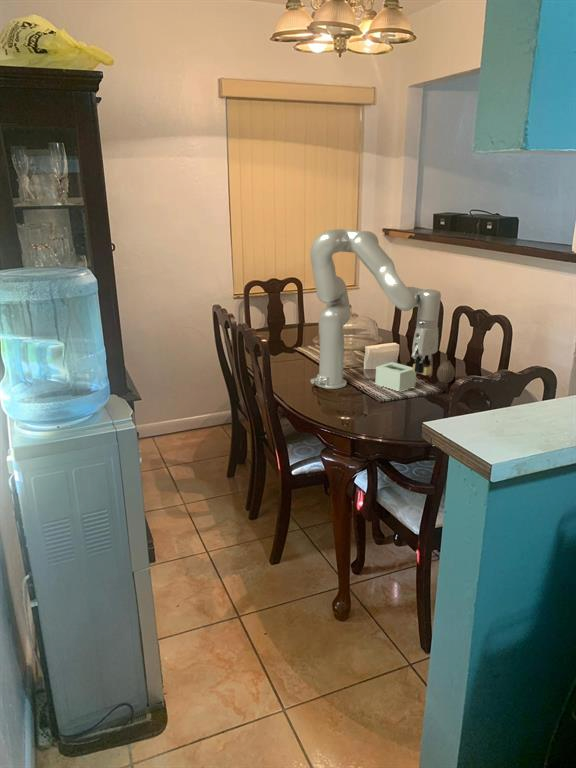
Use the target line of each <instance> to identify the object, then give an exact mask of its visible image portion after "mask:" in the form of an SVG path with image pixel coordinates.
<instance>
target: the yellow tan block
mask: <svg viewBox="0 0 576 768" xmlns="http://www.w3.org/2000/svg"><path fill="white" fill-rule="evenodd" d="M412 367H413V372H415V363H413V364H412ZM432 369H433V366H432V365H431V364H430V365H426V364H423V372H422V373H421V374H420V373H417V372H416V374H418V375H419V374H420V375H423V376H428V375H431V374H432Z"/></svg>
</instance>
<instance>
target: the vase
mask: <svg viewBox="0 0 576 768" xmlns="http://www.w3.org/2000/svg"><path fill="white" fill-rule="evenodd" d="M455 373H456V371H455V367H454V366H453V364H452V363H451V360H448V359H447V360H446V359H445V360H443V362H442V363H441V364H440V365H439V366H438V367H437V372H436V376H437V379H438V380H439V382H441V383H444V384H449V383H451V382H452V381H453V380H454V378H455V375H456V374H455Z"/></svg>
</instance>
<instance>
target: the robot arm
mask: <svg viewBox="0 0 576 768" xmlns="http://www.w3.org/2000/svg"><path fill="white" fill-rule="evenodd" d="M379 243H380V242H379V238H378V236H377V234H375V233H374V232H372V231H368V230H356V229H344V228H342V229H341V228H336V229H329V230H327V231H324V232H322V233H321V234H319V235H318V236H317V237H316V238H315V240H314V241H313V242H312V244H311V247H310V254H309V256H310V262H311V268H312V274H313V281H314V286H315V292H316V296H317V298H318V300H319V301H320V302H321V303H323V304H326V307H325V308H324V309H322V311H321V312H320V314H319V317H318V330H319V366H318V367H319V368H318V369H319V372H318V374H317V375H316V377H315V378H311V379H310V384H315V386H317V387H319V388H322V389H328V390H329V389H331V390H334V389H341V388H344V387H346V386H347V383H348V382H347V380H346V379H344V359H345V358H344V357H345V356H344V353H345V336H344V326H345V325H346V324H347V323H348V322H349V321H350V319H351V315H352V314H351V313H352V312H351V307H350V306H351V304H350V300H349V293H348V288H347V285H346V283H345V281H344V280H343V279H342V277H340V276H338V275H337V272H336V266H335V262H334V260H333V255H334V254H336V253H340V252H341V253H351V254H354V255H355V256H356V257H357V258H358V259H359V260H360V261H361V263H362V264H363V265H364V266H365V267H366V268H367V269H368V271H369V272H370V273H371V275H373V277H374V279H375V281H376V282H377V284H378V286H379V287H380V289H381V290H382V291H383V293H384V295H386V298H388V299H389V300H390V302H392V304H393V305H394V306H395V307H396V308H397V309H399V311H402V312H407V311H410V310H413V309H414V308H415V307H416V308H417V316H416V325H415V327H416V328H415V331H414V335H413V339H412V340H413V341H412V347H411V348H412V353H411V358H413V360H414V362H415V372H417V373H416V374H419V373H420V375H422V374H421V373H422V372H423V364H426V365H430V366H431V361H432V357H433V356H434V354H436V353H437V352H438V349H439V327H438V323H439V315H440V309H441V308H440V307H441V299H442V294H441V292H440V291H439V290H437V289H431V288H429V289H423V288H418V287H415V286H407V285H406V284H405V283H404V282H403V280H401V278H400V277H399V275H398V273H397V271H396V268H395V263H394V261H393V260H392V258H391V257H390V256H389V255H388V253H386V252H385V250H384V249H383V248H382V247H381V246H380V245H379Z"/></svg>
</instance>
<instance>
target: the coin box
mask: <svg viewBox="0 0 576 768" xmlns="http://www.w3.org/2000/svg"><path fill="white" fill-rule="evenodd" d="M416 379H417V373H416V372H413V366H408V365H405V364H403V363H402V364H401V363H398V362H393V361H391V362H387V363H384V364H381V365H378V366H376V367H375V380H374V383H375V384H377V385H380V386H384V387H387V388H390V389H393V390H396V391H401V390H405V389H408V388H411V387H414V386H415V387H416Z"/></svg>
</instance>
